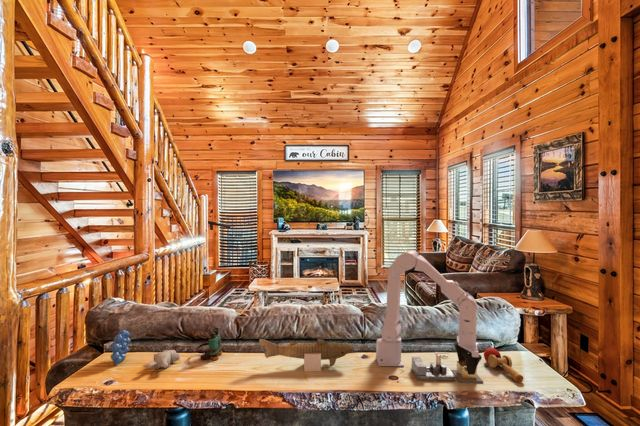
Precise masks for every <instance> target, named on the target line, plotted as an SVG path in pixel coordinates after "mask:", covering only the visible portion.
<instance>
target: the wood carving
mask: <svg viewBox="0 0 640 426" xmlns="http://www.w3.org/2000/svg"><path fill="white" fill-rule="evenodd" d="M316 339H317V341H316V342H312V343H307V342H306V343H297V342H296V341H294V340H291V341H290V343H288V344H280V343H278V344H275V343H273V342H271V341H269V340H268V339H267V340H266V339H263V338H259V340H258V341H259V344H260V347H261V349H262V351H263V354H264V357H265V358H266V359H269V358H270V357H276V356H282V357H288V358H292V359H293V358H295V359H299V360H300V359H302V360H303V368H304V370H303V371H304V372H321V371H322V361H324V360H325V361H326V360H328V361H329V367H333V366H334V365H335V364H336V362H337V359H340V358H343V357H345V356H346V355H348V354H349V353H351V352H352V351H354V346H353V344H350V343H344V342H326V341H325V339H324V338H322V337H317V338H316ZM263 346H264V347H265V350H264V348H263Z"/></svg>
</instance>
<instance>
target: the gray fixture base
mask: <svg viewBox="0 0 640 426" xmlns="http://www.w3.org/2000/svg"><path fill="white" fill-rule="evenodd" d="M410 366H411V370H412V373H413V375H414V376H415V378H416V380H417V381H428V382H429V381H430V382H431V381H435V382H438V381H439V382H440V381H441V382H456V380H457V379H456V377H455V375H454V374H453V373H452V371H451V370H452V369H450V367H449V366H448V365H447V364H445V363H444V362H442V357H441V355H439V354H435V362H429V364H425V363H424V361H423V360H422V358H421V356H411V365H410Z"/></svg>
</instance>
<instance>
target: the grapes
mask: <svg viewBox="0 0 640 426" xmlns="http://www.w3.org/2000/svg"><path fill="white" fill-rule="evenodd" d="M130 335H131V334H130V332H129V331H128V330H126V329H121V330H119V332H118V333H117V335H115V337H114V338H113V340H114V342H112V343H110V345H109V350H110V351H111V352H112V353H111V355H110V359H111V360H112V361H113V364H114V365H116V366H117V365H120V363H122V362H124V361H125V359H126V358H127V356H126V354H127V353H129V351H130V349H129V346H128V345H129V344H130V343H131V342H132V341H131V338H130Z"/></svg>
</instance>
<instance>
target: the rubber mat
mask: <svg viewBox="0 0 640 426" xmlns="http://www.w3.org/2000/svg"><path fill="white" fill-rule="evenodd" d="M450 370H451V371H452V373H453V374H454V375H455V377H456V380H457V382H458V383H459V384H460V383H461V384H462V383H464V384H465V383H467V384H470V383H471V384H476V383H477V384H484V381H483V379H482V378H481V377H480V376H479V375H478V374H477V379H462V378H461V377H460V375H459V374H458V373H457V369H450Z"/></svg>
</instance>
